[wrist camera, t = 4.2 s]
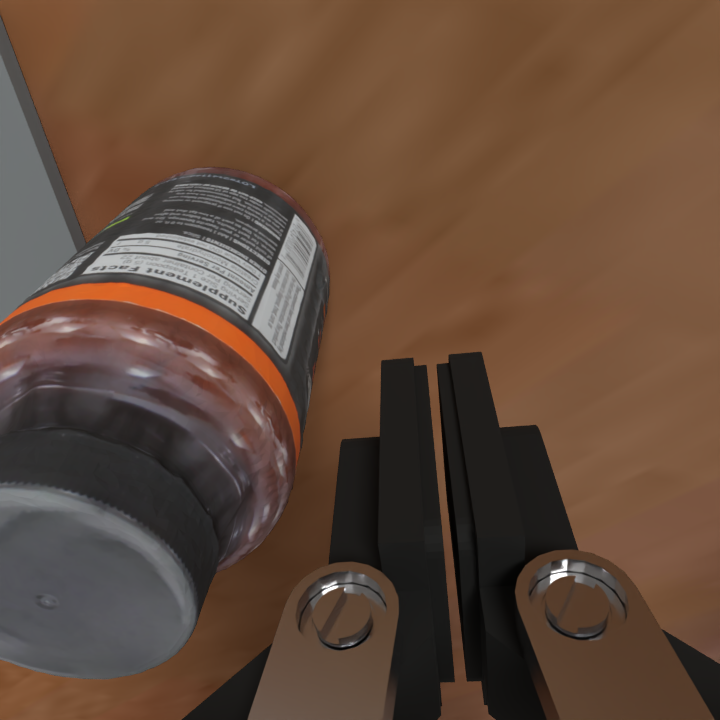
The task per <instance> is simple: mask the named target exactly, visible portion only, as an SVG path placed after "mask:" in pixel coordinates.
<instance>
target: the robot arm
mask: <svg viewBox="0 0 720 720" xmlns="http://www.w3.org/2000/svg"><path fill="white" fill-rule="evenodd" d="M437 376H438V389H439V403H440V416H441V429H442V442H443V456H444V469H445V482H446V494H447V504H448V513H449V522H450V531H451V540H452V550H453V559H454V568H455V577H456V586H457V596H458V605H459V614H460V623H461V632H462V642H463V651H464V660H465V669H466V678H467V682H468V681H481V683H482V690H483V698H484V705H488V712H489V714H490V715H491V716H492V717H493V718H494V719H496V720H720V664H719V663H717V662H715V661H714V660H712V659H710V658H709V657H707V656H705V655H704V654H702V653H700V652H699V651H697V650H695V649H694V648H692V647H690V646H689V645H687V644H686V643H684V642H682V641H681V640H679V639H677V638H676V637H674V636H672V635H671V634H669V633H667V632H666V631H664V630H662V629H661V628H660V626H659V624H658V622H657V621H656V619H655V617H654V616H653V614H652V612H651V611H650V609H649V607H648V605H647V604H646V602H645V600H644V599H643V597H642V595H641V594H640V592H639V590H638V588H637V587H636V585H635V584H634V583H633V582H632V580H631V579H630V578H629V577H628V576H627V574H626V573H625V572H624V571H623V570H621V569H620V568H618V567H617V566H616V565H614V564H613V563H612V562H610V561H609V560H606V559H604V558H602V557H600V556H597V555H595V554H593V553H589V552H583V551H579V550H578V547H577V544H576V541H575V538H574V535H573V532H572V529H571V526H570V523H569V520H568V516H567V513H566V510H565V507H564V504H563V501H562V498H561V495H560V492H559V489H558V486H557V482H556V479H555V476H554V473H553V470H552V467H551V464H550V461H549V458H548V455H547V452H546V448H545V445H544V442H543V439H542V436H541V433H540V431H539V428H538V427H537V426H536V425H529V426H516V427H502V428H500V427H499V423H498V419H497V415H496V411H495V407H494V402H493V398H492V394H491V390H490V386H489V381H488V377H487V373H486V369H485V365H484V360H483V356H482V353H481V352H473V353H461V354H450V355H449V363H444V364H437ZM440 682H455V679H454V667H453V655H452V643H451V631H450V619H449V607H448V595H447V583H446V571H445V559H444V548H443V536H442V525H441V514H440V504H439V493H438V483H437V472H436V461H435V451H434V440H433V429H432V419H431V408H430V397H429V387H428V376H427V366H426V365H421V366H414V360H413V358H404V359H393V360H382V361H381V404H380V437H369V438H356V439H343V440H342V442H341V447H340V455H339V465H338V475H337V485H336V495H335V505H334V515H333V525H332V535H331V545H330V555H329V565H327V566H324V567H321V568H318V569H317V570H315V571H314V572H312V573H310V574H309V575H307V576H305V577H304V578H303V579H302V580H301V581H300V582H299V584H298V585H297V586H296V587H295V588H294V589H293V590H292V592H291V594H290V596H289V598H288V600H287V602H286V604H285V607H284V610H283V613H282V616H281V619H280V622H279V625H278V628H277V631H276V635H275V638H274V641H273V643H272V644H271V645H270V646H269V647H267V648H266V649H265V650H264V651H263V652H261V653H260V654H259V655H258V656H257V657H256V658H254V659H253V660H252V661H251V662H250V663H248V664H247V665H246V666H245V667H244V668H242V669H241V670H240V671H239V672H238V673H237V674H235V675H234V676H233V677H232V678H231V679H229V680H228V681H227V682H226V683H225V684H223V685H222V686H221V687H220V688H219V689H218V690H216V691H215V692H214V693H213V694H212V695H210V696H209V697H208V698H207V699H206V700H204V701H203V702H202V703H201V704H200V705H199V706H197V707H196V708H195V709H194V710H193V711H191V712H190V713H189V714H188V715H187V716H186V717H184V718H183V719H182V720H437V719H438V718H439V717H440V716H441V706H442V702H441V688H440Z"/></svg>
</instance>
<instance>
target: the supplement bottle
mask: <svg viewBox="0 0 720 720" xmlns="http://www.w3.org/2000/svg"><path fill="white" fill-rule="evenodd" d="M329 282H330V272H329V263H328V255H327V251H326V249H325V246H324V243H323V240H322V237H321V236H320V234H319V232H318V230H317V228H316V227H315V225H314V224H313V222H312V220H311V219H310V217H309V216H308V215H307V213H306V212H305V211H304V210H303V208H302V207H301V206H300V205H299V204H298V203H297V202H296V201H295V200H294V199H293V198H292V197H291V196H290V195H289V194H287V193H286V192H284V191H283V190H282V189H280V188H279V187H277V186H275V185H273V184H272V183H270V182H268V181H266V180H264V179H262V178H260V177H258V176H255V175H252V174H250V173H247V172H244V171H240V170H234V169H229V168H219V167H204V168H194V169H190V170H187V171H184V172H181V173H177V174H174V175H172V176H170V177H168V178H166V179H164V180H162V181H160V182H159V183H157V184H156V185H154V186H153V187H151V188H149V189H148V190H147V191H145V192H144V193H143V194H141V195H140V196H139V197H138V198H137V199H135V200H134V201H133V202H132V203H131V204H130V205H129V206H128V207H127V208H125V209H124V210H123V211H122V212H121V213H120V214H119V215H118V216H117V217H116V218H115V219H114V220H113V221H111V222H110V223H109V224H108V225H107V226H106V227H105V228H104V229H103V230H102V231H100V232H99V233H98V234H97V235H96V236H95V237H94V238H92V239H91V240H90V241H89V242H88V243H87V244H86V245H85V246H84V247H83V248H81V249H80V250H79V251H78V252H77V253H76V254H75V255H74V256H73V257H72V258H71V259H69V260H68V261H67V262H66V263H65V264H64V265H63V266H62V267H61V268H60V269H59V270H58V271H56V272H55V273H54V274H53V275H52V276H51V277H50V278H49V279H48V280H47V281H46V282H45V283H44V284H43V285H41V286H40V287H39V288H38V289H37V290H36V291H35V292H33V293H32V294H31V295H30V296H29V297H28V298H27V299H25V300H24V302H22V303H21V304H20V305H19V306H18V307H17V308H16V309H15V311H14V312H12V313H11V314H10V315H9V316H8V317H7V318H6V319H4V320H3V321H2V322H1V323H0V660H4V661H8V662H10V663H13V664H15V665H18V666H21V667H25V668H28V669H31V670H34V671H37V672H43V673H47V674H51V675H55V676H62V677H72V678H82V679H111V678H117V677H122V676H129V675H133V674H137V673H141V672H144V671H146V670H148V669H151V668H154V667H156V666H158V665H160V664H161V663H163V662H165V661H167V660H168V659H170V658H171V657H172V656H174V655H176V654H177V653H178V651H179V650H180V649H181V648H182V647H183V646H184V645H185V644H186V642H187V641H188V639H189V638H190V636H191V635H192V633H193V631H194V629H195V626H196V624H197V621H198V617H199V614H200V611H201V609H202V605H203V603H204V600H205V597H206V595H207V592H208V589H209V586H210V584H211V582H212V579H213V577H214V575H215V574H216V573H217V572H219V571H221V570H224V569H227V568H228V567H230V566H231V565H233V564H235V563H237V562H238V561H239V560H242V559H244V558H245V556H247V555H248V554H249V553H250V552H251V551H253V550H254V549H255V548H257V547H258V546H259V545H260V544H261V543H262V542H263V540H264V539H265V538H266V536H267V535H268V534H269V533H270V532H271V530H272V529H273V528H274V526H275V525H276V523H277V522H278V520H279V519H280V517H281V515H282V513H283V510H284V508H285V506H286V505H287V503H288V498H289V495H290V492H291V490H292V489H293V482H294V478H295V473H296V466H297V461H298V457H299V454H300V451H301V448H302V442H303V432H304V429H305V424H306V416H307V411H308V408H309V402H310V393H311V389H312V383H313V377H314V373H315V367H316V361H317V357H318V351H319V347H320V342H321V337H322V331H323V325H324V321H325V317H326V314H327V303H328V298H329Z"/></svg>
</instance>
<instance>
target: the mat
mask: <svg viewBox="0 0 720 720" xmlns="http://www.w3.org/2000/svg"><path fill="white" fill-rule="evenodd" d="M85 245H86V242H85V239H84V237H83V234H82V231H81V229H80V226H79V223H78V221H77V218H76V215H75V213H74V210H73V207H72V205H71V202H70V199H69V197H68V194H67V192H66V189H65V186H64V184H63V181H62V178H61V176H60V173H59V170H58V168H57V165H56V162H55V160H54V157H53V154H52V152H51V149H50V146H49V144H48V141H47V138H46V136H45V133H44V130H43V128H42V125H41V122H40V120H39V117H38V114H37V112H36V109H35V106H34V104H33V101H32V99H31V96H30V93H29V91H28V88H27V85H26V83H25V80H24V77H23V75H22V72H21V69H20V67H19V64H18V61H17V59H16V56H15V53H14V51H13V48H12V45H11V43H10V40H9V37H8V35H7V32H6V29H5V27H4V24H3V21H2V19H1V16H0V323H1V322H2V321H3V320H4V319H6V318H7V317H8V316H9V315H10V314H11V313H12V312H14V311H15V309H16V308H17V307H18V306H19V305H20V304H21V303H22V302H24V300H25V299H27V298H28V297H29V296H30V295H31V294H32V293H33V292H35V291H36V290H37V289H38V288H39V287H40V286H41V285H43V284H44V283H45V282H46V281H47V280H48V279H49V278H50V277H51V276H52V275H53V274H54V273H55V272H56V271H58V270H59V269H60V268H61V267H62V266H63V265H64V264H65V263H66V262H67V261H68V260H69V259H71V258H72V257H73V256H74V255H75V254H76V253H77V252H78V251H79V250H80V249H81V248H83V247H84V246H85Z"/></svg>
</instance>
